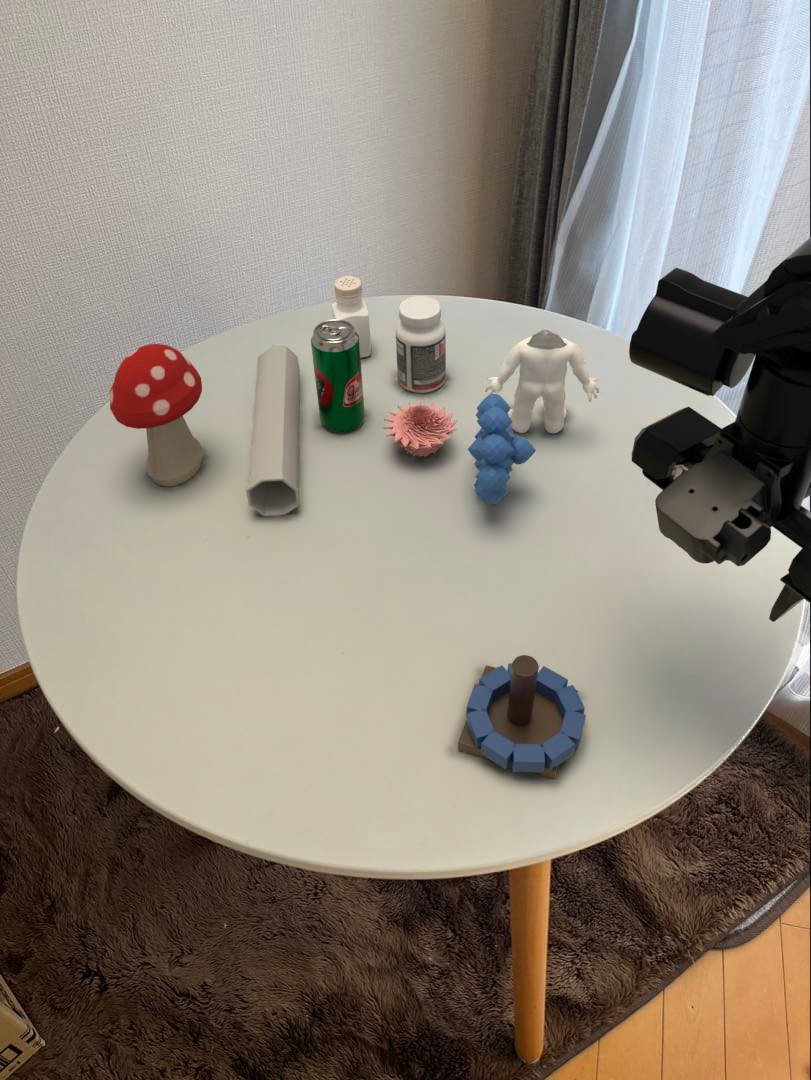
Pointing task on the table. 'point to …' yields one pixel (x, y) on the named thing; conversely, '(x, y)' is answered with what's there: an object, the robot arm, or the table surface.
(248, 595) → the table surface
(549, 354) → the toy creature
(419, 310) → the pill bottle
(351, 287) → the pepper shaker
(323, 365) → the soda can
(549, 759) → the ring
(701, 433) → the robot arm
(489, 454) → the grapes
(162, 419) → the decorative mushroom
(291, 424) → the tube
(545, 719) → the post
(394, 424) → the flower
